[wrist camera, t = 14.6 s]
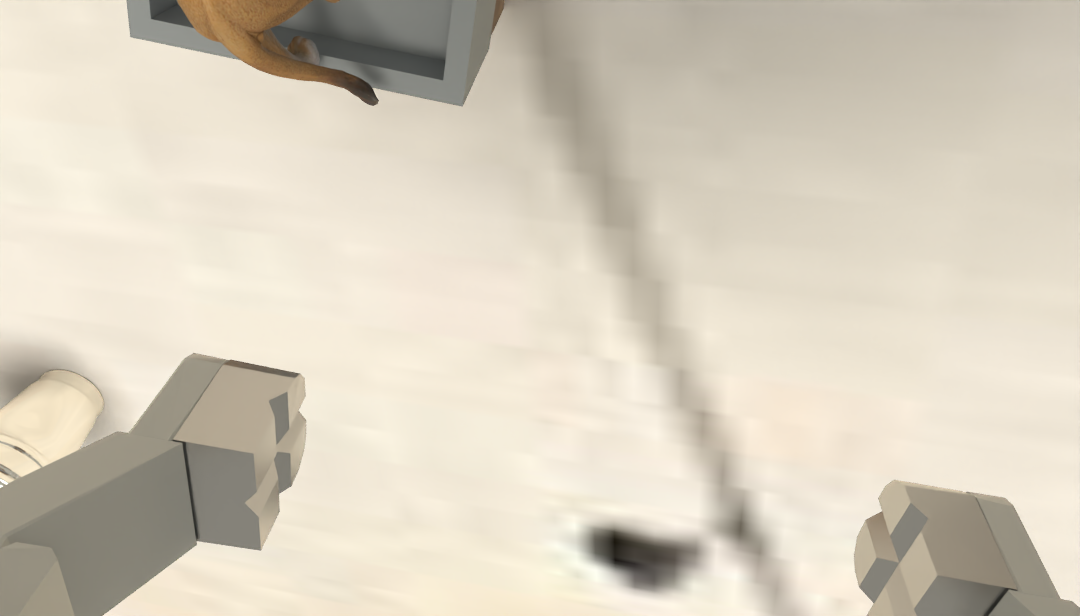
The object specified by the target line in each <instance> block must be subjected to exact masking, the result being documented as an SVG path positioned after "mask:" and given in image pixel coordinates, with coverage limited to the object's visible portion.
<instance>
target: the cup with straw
mask: <svg viewBox="0 0 1080 616" xmlns="http://www.w3.org/2000/svg"><path fill="white" fill-rule="evenodd" d="M103 406H104V403H103V398H102V396H101V394H100V392H99V391H98V389H97V388H96V387H95V386H94V385H93V384H92V383H91V382H90V381H88V380H87V379H85V378H84V377H82V376H80V375H78V374H76V373H73V372H70V371H65V370H52V371H49V372H46V373H45V374H43V375H42V376H41V377H40V379H39V381H36V382H34V383H32V384H31V385H29V386H28V387H27V388H26V389H25V390H23V391H22V392H21V393H20V394H18V395H17V396H16V397H15V398H14V399H12V400H11V401H10V402H9V403H7V404H6V405H5V406H4V407H3V408H1V409H0V487H1V486H4V485H6V484H8V483H10V482H12V481H14V480H16V479H18V478H20V477H23V476H25V475H27V474H29V473H31V472H33V471H35V470H37V469H39V468H42V467H44V466H46V465H48V464H50V463H52V462H54V461H56V460H58V459H61V458H63V457H65V456H67V455H69V454H71V453H73V452H75V451H77V450H79V449H80V448H81V446H82V444H83V443H84V441H85V439H86V438H87V436H88V434H89V433H90V431H91V429H92V427H93V426H94V424H95V422H96V417H97V416H98V415H99V414H100V413H101V412H102V410H103Z"/></svg>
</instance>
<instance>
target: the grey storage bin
mask: <svg viewBox="0 0 1080 616" xmlns="http://www.w3.org/2000/svg"><path fill="white" fill-rule="evenodd" d="M495 4H496V0H340V1H339V2H336V3H330V2H328V1H325V0H313V1H312V2H310V3H309V4H308V5H306V6H305V7H304V8H302V9H301V10H300V11H299V12H298V13H296V14H295V15H294V16H292V17H291V18H289V19H288V20H286V21H285V22H283V23H281V24H279V25H278V26H275V27H273V28H270V29H271V30H272V32H273V34H274V35H275V37H276V38H277V40H278V41H279V42H280V43H281V44H282V45H283V46H284V47H285V48H286V49H287V48H288V45H289V44H290V43H291V41H292V39H293V37H296V36H302V37H304V38H307V39H310V40H312V41H313V42H314V43H315V45H316V47H317V50H318V52H319V58H320V61H319V66H323V67H327V68H331V69H336V70H342V71H345V72H347V73H349V74H352V75H354V76H357V77H359V78H361V79H362V80H364V81H366V82H368V83H369V84H370V86H371V87H372V88H377V89H382V90H386V91H391V92H396V93H401V94H405V95H410V96H415V97H420V98H425V99H429V100H434V101H439V102H444V103H449V104H453V105H458V106H463V104H464V102H465V100H466V98H467V96H468V93H469V91H470V89H471V87H472V85H473V82H474V80H475V78H476V76H477V74H478V71H479V69H480V67H481V65H482V63H483V60H484V58H485V56H486V54H487V52H488V49H489V45H490V38H491V31H492V25H493V18H494V11H495ZM127 9H128V18H129V28H130V37H133V38H137V39H142V40H147V41H152V42H157V43H161V44H166V45H171V46H176V47H180V48H185V49H190V50H195V51H200V52H204V53H209V54H214V55H219V56H224V57H228V58H233V59H238V60H240V59H239V58H237V57H236V56H235V55H233V54H232V53H231V52H230V51H229V50H228V49H227V48H226V47H225V46H224V45H223V44H222V43H221V42H216V41H212V40H210V39H208V38H206V37H204V36H202V35H201V34H200V33H198V32H197V31H196V30H195V28H194V27H193V25H192V24H191V23H190V21H189V20H188V18H187V16H186V15H185V13H184V12H183V10H182V8H181V7H180V5H179V3H178V1H177V0H127Z"/></svg>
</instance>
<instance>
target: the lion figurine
mask: <svg viewBox="0 0 1080 616" xmlns="http://www.w3.org/2000/svg"><path fill="white" fill-rule="evenodd" d="M177 1H178V3H179V5H180V7H181V8H182V10H183V12H184V13H185V15H186V16H187V18H188V20H189V21H190V23H191V24H192V25H193V27H194V28H195V30H196V31H197V32H198V33H200V34H201V35H202V36H204V37H206V38H208V39H210V40H212V41H216V42H221V43H222V44H223V45H224V46H225V47H226V48H227V49H228V50H229V51H230V52H231V53H232V54H233V55H235V56H236V57H237V58H239V59H240V60H242V61H243V62H245V63H247V64H248V65H250V66H252V67H254V68H256V69H258V70H260V71H263V72H266V73H269V74H272V75H275V76H279V77H285V78H290V79H296V80H304V81H317V82H323V83H328V84H331V85H334V86H338V87H342V88H345V89H347V90H348V91H350V92H351V93H352V94H354V95H356V96H358V97H359V98H360V99H361V100H362V101H364V102H365V103H367V104H369V105H372V106H374V105H376V104H378V101H379V100H378V99H377V97H376V95H375V93H374V91H373V89H372V87H371V86H370V84H369V83H368V82H366V81H364V80H362V79H361V78H359V77H357V76H354V75H352V74H349V73H347V72H345V71H342V70H336V69H331V68H327V67H323V66H319V61H320V58H319V52H318V50H317V47H316V45H315V43H314V42H313V41H312V40H310V39H307V38H304V37H302V36H296V37H293V39H292V41H291V43H290V44H289V45H288V48H287V49H286V48H285V47H284V46H283V45H282V44H281V43H280V42H279V41H278V40H277V38H276V37H275V35H274V34H273V32H272V30H271V29H270V28H273V27H275V26H278V25H279V24H281V23H283V22H285V21H286V20H288V19H289V18H291V17H292V16H294V15H295V14H296V13H298V12H299V11H300V10H301V9H302V8H304V7H305V6H306V5H308V4H309V3H310V2H312V1H313V0H177ZM325 1H328V2H330V3H336V2H339V1H340V0H325Z"/></svg>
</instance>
